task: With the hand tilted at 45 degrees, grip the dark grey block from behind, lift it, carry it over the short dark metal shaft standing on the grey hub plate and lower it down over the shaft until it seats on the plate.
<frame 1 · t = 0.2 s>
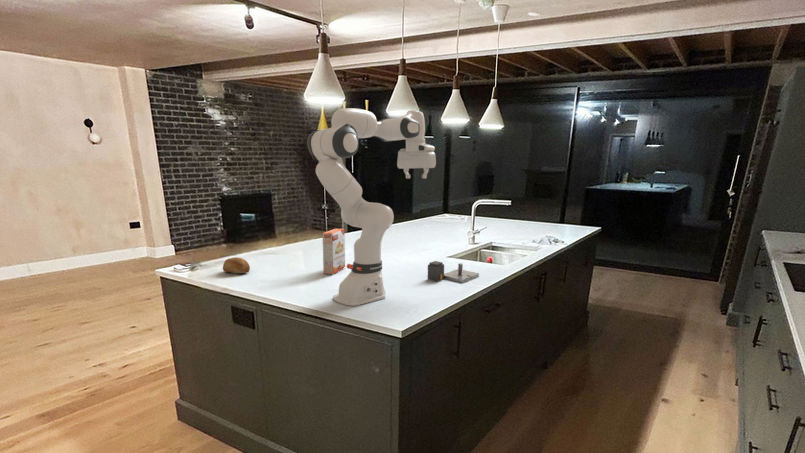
hand: (416, 178, 182), 47 cm above the countertop, tool pointing down, fingers open, 8 cm apart
bread roll: (236, 273, 199), on the countertop
cracker box: (335, 271, 201), on the countertop
dark grey block: (435, 279, 187), on the countertop
hub plate: (460, 277, 189), on the countertop
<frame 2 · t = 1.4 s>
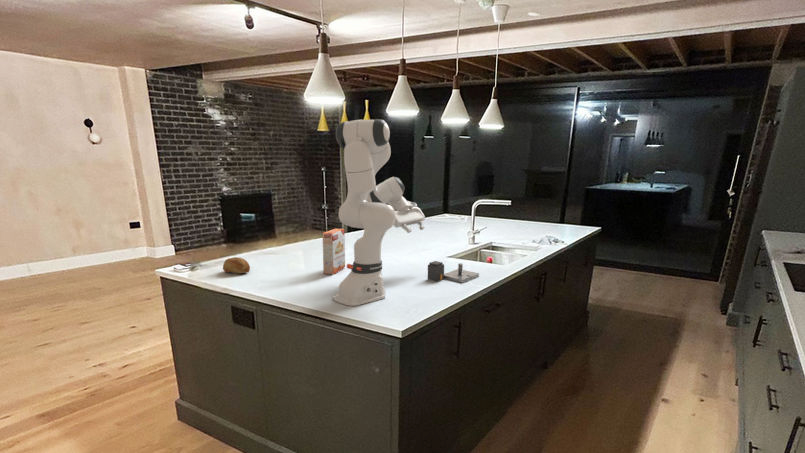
hand: (416, 230, 191), 22 cm above the countertop, tool tilted 45°, fingers open, 8 cm apart
nothing on the countertop moved.
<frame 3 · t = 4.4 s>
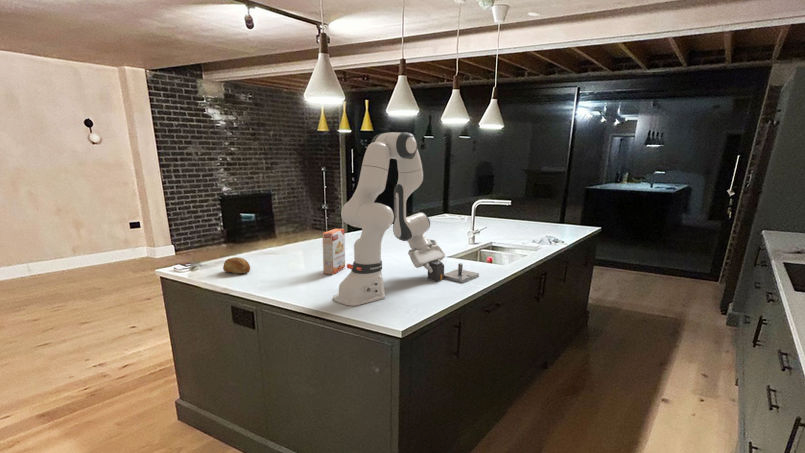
hand: (437, 270, 186), 4 cm above the countertop, tool tilted 45°, fingers closed on dark grey block, 5 cm apart
dark grey block: (435, 279, 187), on the countertop, touching gripper
everything else where it was.
when the fingers open (7 cm above the countertop, at t = 10.4 s): dark grey block drops 1 cm, resting on hub plate.
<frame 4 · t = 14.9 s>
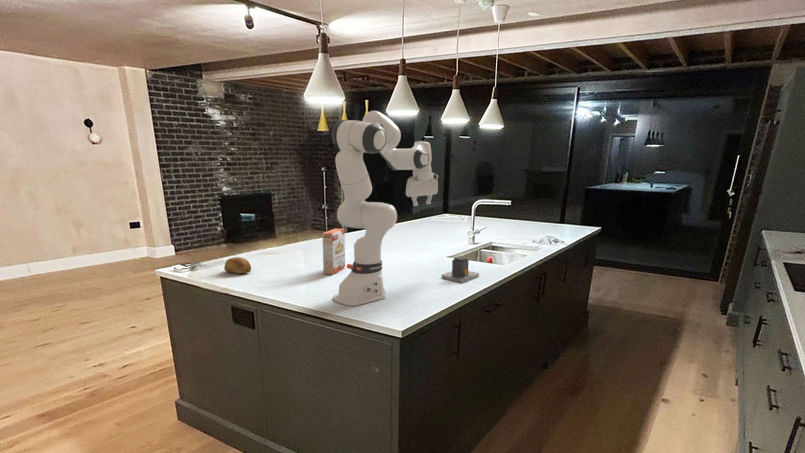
hand: (422, 205, 191), 34 cm above the countertop, tool pointing down, fingers open, 8 cm apart
dark grey block: (460, 274, 189), point 1 cm above the countertop, touching hub plate
everything else where it was.
at the end: dark grey block 0.1 cm from the hub plate (horizontally); dark grey block point 1.5 cm above the countertop; dark grey block tilted 0° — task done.
